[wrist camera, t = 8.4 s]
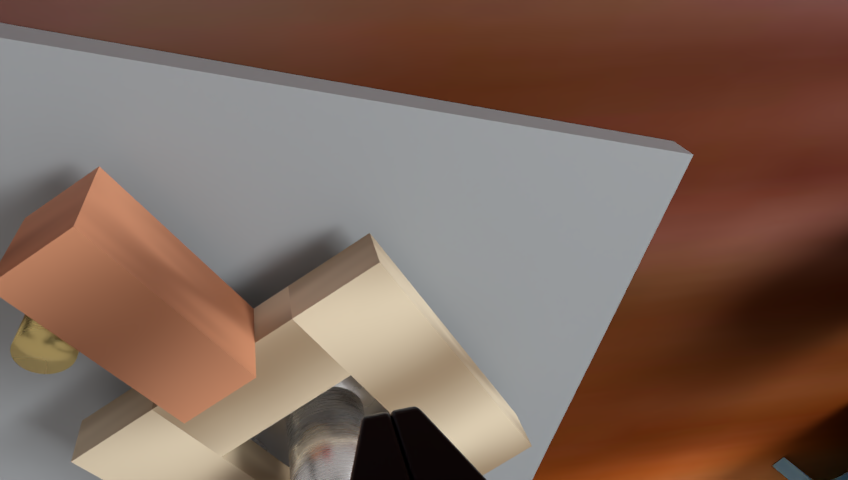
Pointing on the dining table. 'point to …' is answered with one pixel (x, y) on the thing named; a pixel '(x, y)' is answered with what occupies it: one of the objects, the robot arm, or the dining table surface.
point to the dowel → (41, 349)
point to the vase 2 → (797, 471)
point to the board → (329, 211)
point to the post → (321, 433)
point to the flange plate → (232, 343)
